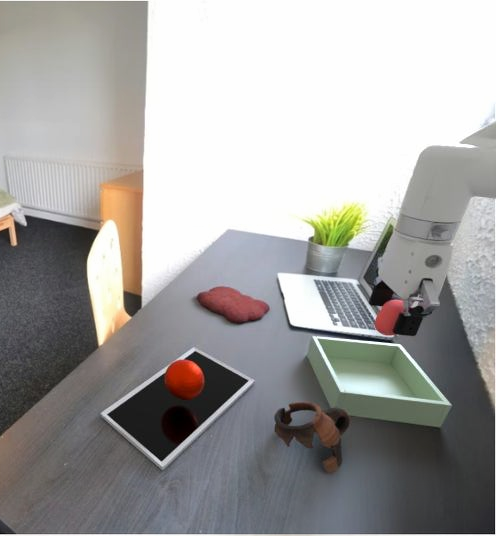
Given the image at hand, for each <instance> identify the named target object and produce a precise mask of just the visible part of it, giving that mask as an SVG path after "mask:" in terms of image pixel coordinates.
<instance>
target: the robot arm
mask: <svg viewBox="0 0 496 536" xmlns="http://www.w3.org/2000/svg"><path fill="white" fill-rule="evenodd" d="M417 155H418V156H417V158H416V160H415V164H414V167H413V170H412V173H411V177H410V178H409V181H408V185H407V188H406V190H405V194H404V196H403V198H402V202H401V205H400V208H399V211H398V214H397V217H396V220H395V223H394V225H393V228H392V234H391V236H390V238H389V240H388V242H387V245H386V248H385V249H384V252H383V253H382V256H379V257H378V258H377V268H376V270H375V273H376V278H375V279H374V281H373V284H374V286H373V288H372V290H371V294H370V297H369V299H368V305H369V306H371V307H382V306H383V305H384V304H385V303H386V302H388V301H390V300H393V299H392V298H393V295H394V293H395V295H397V296H398V297H399V298H400V299H401V300H402V301H403V313H401V312H400V313H399V316H398V318H397V321H396V323H395V326H394V329H393V333H394V334H396V335H395V336H407V337H415V336H417V334H418V331H419V330H420V327H421V324H422V322H423V319H425V318H428V316H429V315H431V314H433V312H434V311H436V310H437V309H438V308H440V305H441V303H440V299H439V297H440V294H441V292H442V289H443V286H444V284H445V280H446V277H447V275H448V272H449V268H450V266H451V265H450V264H451V260H452V256H453V250H454V243H453V242H454V240H455V237H456V235H457V232H458V231H459V227H460V225H461V223H462V220H463V218H464V216H465V213H466V211H467V209H468V206H469V203H470V201H471V199H472V198H475V197H478V198H487V199H494V200H496V120H494V121H492V122H490V123H488V124H487V125H485V126H483V127H481V128H479V129H477V130H475V131H474V132H472V133H470V134H468V135H467V136H465V137H463V138H461V139H460V140H458V142H456V143H451V142H450V143H447V142H446V143H445V142H444V143H432V144H428V145H426V146H424V147H423V148H422V149H421V150H420V151H419V153H418V154H417ZM414 295H418V296H414ZM412 302H417V303H418V305H416V306H412ZM411 306H412V307H413V308H411Z"/></svg>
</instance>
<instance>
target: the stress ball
mask: <svg viewBox="0 0 496 536" xmlns="http://www.w3.org/2000/svg"><path fill="white" fill-rule="evenodd" d="M413 307H414V306H412V305H411V308H413ZM400 312H401V313H403V300H402V299H401V300H400V299H391V300H390V301H388V302H386V303H385V304H384V305H383V306H381V308H380V310H379V311H378V313H377V315H376V317H375V320H374V328H375V330H376V331H377V332H378V333H379V334H381V335H383V336H389V337H390V336H397V335H396V334H394V333H393V329H394V326H395V323H396V321H397V318H398V316H399V313H400Z"/></svg>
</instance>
